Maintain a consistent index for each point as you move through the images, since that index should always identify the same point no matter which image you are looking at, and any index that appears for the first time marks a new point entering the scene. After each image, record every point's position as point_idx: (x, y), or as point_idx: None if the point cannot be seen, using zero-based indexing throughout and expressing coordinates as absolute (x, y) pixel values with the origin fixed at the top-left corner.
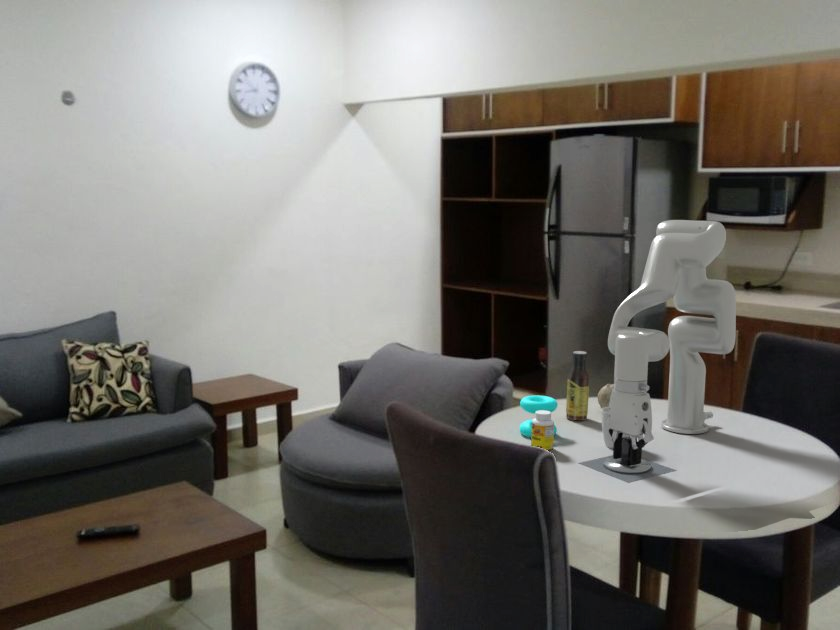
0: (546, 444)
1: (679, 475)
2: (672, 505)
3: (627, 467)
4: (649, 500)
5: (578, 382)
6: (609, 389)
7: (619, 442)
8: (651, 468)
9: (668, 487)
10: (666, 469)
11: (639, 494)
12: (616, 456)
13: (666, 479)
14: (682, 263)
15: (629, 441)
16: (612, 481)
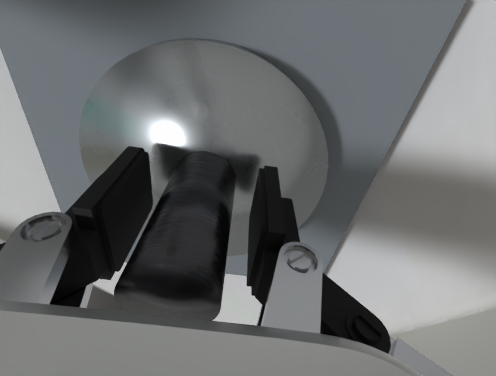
0: None
1: (484, 30)
2: (481, 305)
3: (247, 219)
4: (412, 311)
5: None
6: None
7: (104, 251)
8: (314, 100)
9: (448, 216)
10: (399, 40)
11: (374, 300)
12: (148, 209)
13: (421, 147)
14: None
15: (213, 313)
16: None
